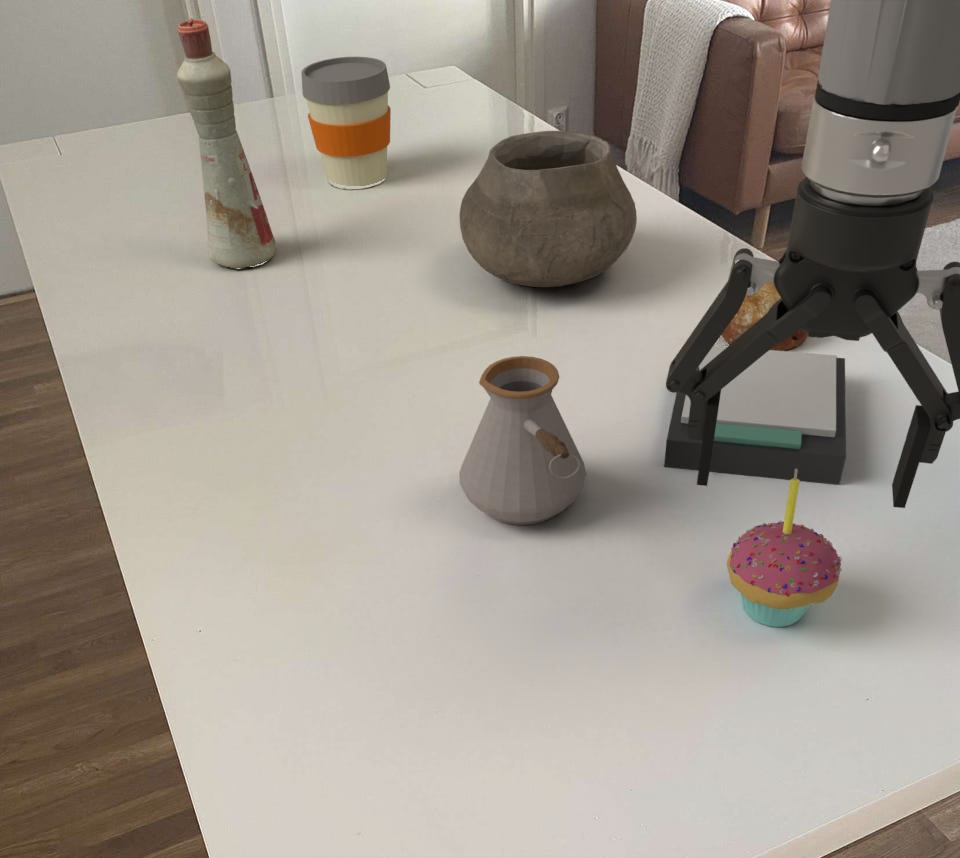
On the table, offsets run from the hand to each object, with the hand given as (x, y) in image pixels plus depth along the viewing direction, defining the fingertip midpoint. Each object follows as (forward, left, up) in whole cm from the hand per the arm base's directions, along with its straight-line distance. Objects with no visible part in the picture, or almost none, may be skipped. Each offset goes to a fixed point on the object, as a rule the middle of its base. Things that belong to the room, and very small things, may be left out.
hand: (798, 485), depth 73 cm
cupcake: (0, 0, -12) cm, 12 cm away
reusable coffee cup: (+65, -85, -12) cm, 108 cm away
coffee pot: (+21, -6, -12) cm, 25 cm away
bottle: (+71, -56, -12) cm, 91 cm away
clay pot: (+30, -57, -12) cm, 66 cm away
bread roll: (+3, -46, -12) cm, 48 cm away
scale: (+3, -27, -12) cm, 30 cm away
